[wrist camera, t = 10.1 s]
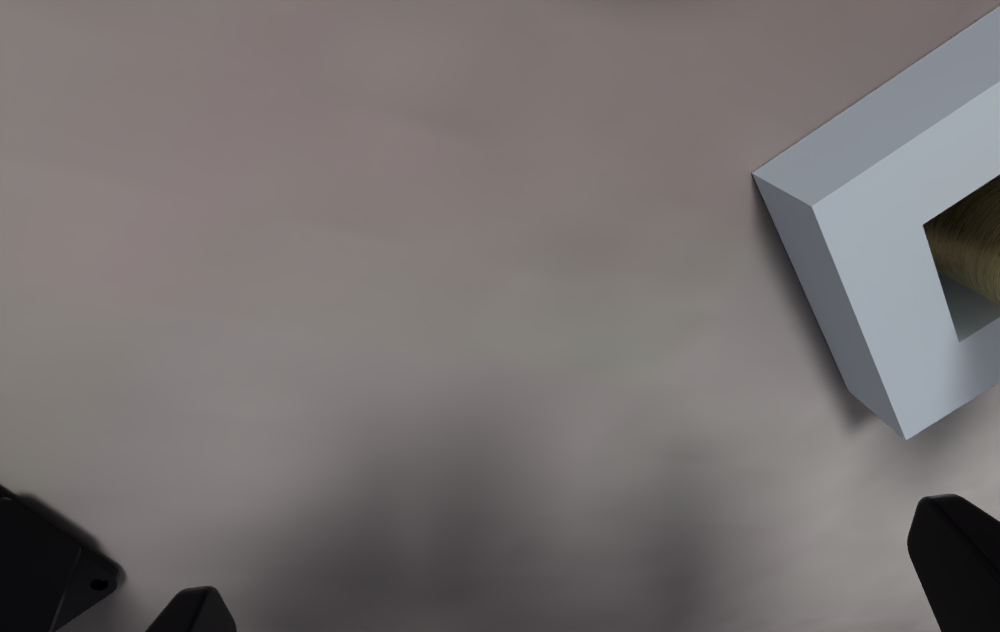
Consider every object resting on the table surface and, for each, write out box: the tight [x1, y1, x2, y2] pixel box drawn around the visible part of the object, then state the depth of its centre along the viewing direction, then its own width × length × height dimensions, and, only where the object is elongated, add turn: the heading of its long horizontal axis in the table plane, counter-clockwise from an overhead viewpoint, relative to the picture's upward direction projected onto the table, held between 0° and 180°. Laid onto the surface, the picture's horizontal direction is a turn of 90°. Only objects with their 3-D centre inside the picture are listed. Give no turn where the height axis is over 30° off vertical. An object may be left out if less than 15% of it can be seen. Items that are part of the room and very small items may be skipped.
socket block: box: [752, 6, 1000, 440], centre depth 22 cm, size 10×10×3 cm
